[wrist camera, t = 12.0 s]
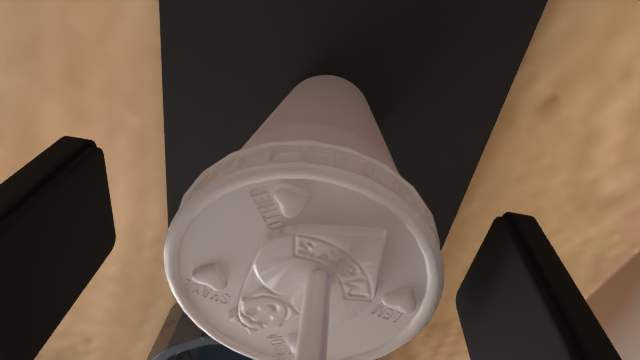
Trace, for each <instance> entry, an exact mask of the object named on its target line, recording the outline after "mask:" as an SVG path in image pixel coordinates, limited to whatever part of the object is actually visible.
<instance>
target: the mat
mask: <svg viewBox="0 0 640 360" xmlns="http://www.w3.org/2000/svg"><path fill="white" fill-rule="evenodd" d="M547 1H548V0H159V10H160V35H161V59H162V84H163V109H164V134H165V158H166V183H167V208H168V229H169V226H170V224H171V222H172V220H173V218H174V216H175V215H176V213H177V211H178V210H179V207H180V204H181V201H182V198H183V196H184V194H185V193H186V192H187V191H188V189H189V188H190V187H191V186H192V184H193V183H194V182H195V181H196V179H197V178H198V177H199V176H200V174H201V173H202V172H203V171H204V170H206V169H208V168H209V167H211V166H212V165H214V164H215V163H217V162H218V161H220V160H221V159H223V158H224V157H226V156H227V155H229V154H231V153H233V152H236V151H239V150H240V149H241V148H242V147H243V146H244V145H245V144H246V142H247V141H248V140H249V139H250V138H251V137H252V136H253V134H254V133H255V132H256V131H257V130H258V129H259V128H260V126H261V125H262V124H263V123H264V122H265V121H266V120H267V118H268V117H269V116H270V115H271V114H272V113H273V112H274V110H275V109H276V108H277V107H278V106H279V105H280V104H281V102H282V101H283V100H284V99H285V98H286V97H287V96H288V94H289V93H290V92H291V91H292V90H293V89H294V88H295V87H296V86H297V85H298V84H299V83H301V82H302V81H304V80H306V79H308V78H311V77H314V76H319V75H332V76H337V77H341V78H343V79H346V80H347V81H349V82H351V83H352V84H354V85H355V86H356V87H357V88H358V89H359V90H360V91H361V92H362V94H363V95H364V97H365V99H366V101H367V103H368V105H369V107H370V110H371V112H372V114H373V116H374V118H375V121H376V123H377V125H378V127H379V130H380V132H381V134H382V136H383V139H384V141H385V143H386V145H387V148H388V150H389V152H390V154H391V157H392V159H393V161H394V163H395V166H396V168H397V170H398V172H399V174H400V176H401V177H402V178H403V179H405V180H406V181H407V182H408V183H409V184H411V185H412V186H413V187H414V188H415V190H416V191H417V192H418V194H419V195H420V197H421V198H422V200H423V201H424V203H425V204H426V206H427V207H428V209H429V210H430V212H431V213H432V215H433V218H434V222H435V226H436V229H437V233H438V237H439V240H440V251H441V249H442V247H443V244H444V242H445V240H446V237H447V235H448V233H449V230H450V228H451V226H452V223H453V221H454V219H455V216H456V214H457V212H458V209H459V207H460V205H461V202H462V200H463V198H464V195H465V193H466V191H467V188H468V186H469V184H470V181H471V179H472V176H473V174H474V172H475V169H476V167H477V165H478V162H479V160H480V158H481V155H482V153H483V151H484V148H485V146H486V144H487V141H488V139H489V137H490V134H491V132H492V130H493V127H494V125H495V123H496V120H497V118H498V116H499V113H500V111H501V109H502V106H503V104H504V102H505V99H506V97H507V95H508V92H509V90H510V88H511V85H512V83H513V81H514V78H515V76H516V74H517V71H518V69H519V66H520V64H521V62H522V59H523V57H524V55H525V52H526V50H527V48H528V45H529V43H530V41H531V38H532V36H533V34H534V31H535V29H536V27H537V24H538V22H539V20H540V17H541V15H542V13H543V10H544V8H545V6H546V3H547Z"/></svg>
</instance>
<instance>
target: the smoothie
mask: <svg viewBox="0 0 640 360" xmlns="http://www.w3.org/2000/svg"><path fill="white" fill-rule="evenodd" d="M163 262H164V269H165V274H166V278H167V281H168V284H169V286H170V289H171V291H172V293H173V295H174V297H175V299H176V300H177V302H178V303H179V305H180V306H181V308H182V309H183V311H184V312H185V313H186V314H187V315H188V317H189V318H190V319H191V320H192V321H193V322H194V323H195V324H196V325H197V326H198V327H199V328H200V329H202V330H203V331H204V332H205V333H207V334H208V335H209V336H210V337H212V338H213V339H214V340H216V341H218V342H219V343H221V344H223V345H224V346H226V347H228V348H230V349H231V350H233V351H235V352H238V353H240V354H242V355H245V356H247V357H250V358H252V359H254V360H375V359H377V358H380V357H383V356H385V355H387V354H389V353H391V352H392V351H394V350H396V349H398V348H399V347H401V346H403V345H405V344H406V343H407V342H408V341H409V340H411V339H412V338H413V337H414V336H416V335H417V334H418V333H419V332H420V331H421V330H422V329H423V327H424V326H425V325H426V324H427V323H428V321H429V320H430V318H431V317H432V315H433V314H434V312H435V310H436V308H437V306H438V304H439V301H440V298H441V295H442V290H443V286H444V264H443V259H442V255H441V251H440V240H439V237H438V233H437V229H436V226H435V222H434V218H433V215H432V213H431V212H430V210H429V209H428V207H427V206H426V204H425V203H424V201H423V200H422V198H421V197H420V195H419V194H418V192H417V191H416V190H415V188H414V187H413V186H412V185H411V184H409V183H408V182H407V181H406V180H405V179H403V178H402V177H401V176H400V174H399V172H398V170H397V168H396V166H395V163H394V161H393V159H392V157H391V154H390V152H389V150H388V148H387V145H386V143H385V141H384V139H383V136H382V134H381V132H380V130H379V127H378V125H377V123H376V121H375V118H374V116H373V114H372V112H371V110H370V107H369V105H368V103H367V101H366V99H365V97H364V95H363V94H362V92H361V91H360V90H359V89H358V88H357V87H356V86H355V85H354V84H352V83H351V82H349V81H347V80H346V79H343V78H341V77H337V76H332V75H319V76H314V77H311V78H308V79H306V80H304V81H302V82H301V83H299V84H298V85H297V86H296V87H295V88H294V89H293V90H292V91H291V92H290V93H289V94H288V96H287V97H286V98H285V99H284V100H283V101H282V102H281V104H280V105H279V106H278V107H277V108H276V109H275V110H274V112H273V113H272V114H271V115H270V116H269V117H268V118H267V120H266V121H265V122H264V123H263V124H262V125H261V126H260V128H259V129H258V130H257V131H256V132H255V133H254V134H253V136H252V137H251V138H250V139H249V140H248V141H247V142H246V144H245V145H244V146H243V147H242V148H241V149H240V150H239V151H236V152H233V153H231V154H229V155H227V156H226V157H224V158H223V159H221V160H220V161H218V162H217V163H215V164H214V165H212V166H211V167H209V168H208V169H206V170H204V171H203V172H202V173H201V174H200V176H199V177H198V178H197V179H196V181H195V182H194V183H193V184H192V186H191V187H190V188H189V189H188V191H187V192H186V193H185V194H184V196H183V198H182V201H181V204H180V207H179V210H178V211H177V213H176V215H175V216H174V218H173V220H172V222H171V224H170V226H169V229H168V231H167V234H166V238H165V242H164V251H163Z"/></svg>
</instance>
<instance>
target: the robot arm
mask: <svg viewBox="0 0 640 360" xmlns="http://www.w3.org/2000/svg"><path fill="white" fill-rule="evenodd" d="M115 239H116V234H115V227H114V220H113V214H112V207H111V200H110V193H109V187H108V180H107V173H106V166H105V159H104V154H103V151H102V149H101V148H97V146H96V144H95V142H94V141H92V140H88V139H82V138H76V137H70V136H64V137H62V138H60V139H59V140H58V141H56V142H55V143H54V144H52V145H51V146H50V147H49V148H47V149H46V150H45V151H43V152H42V153H41V154H39V155H38V156H37V157H35V158H34V159H33V160H32V161H30V162H29V163H28V164H26V165H25V166H24V167H22V168H21V169H20V170H18V171H17V172H16V173H15V174H13V175H12V176H11V177H9V178H8V179H7V180H5V181H4V182H3V183H1V184H0V360H34V358H35V357H36V356H37V354H38V353H39V351H40V350H41V349H42V347H43V346H44V344H45V343H46V342H47V340H48V339H49V337H50V336H51V335H52V333H53V332H54V330H55V329H56V328H57V326H58V325H59V324H60V322H61V321H62V319H63V318H64V317H65V315H66V314H67V312H68V311H69V310H70V308H71V307H72V305H73V304H74V303H75V301H76V300H77V298H78V297H79V296H80V294H81V293H82V291H83V290H84V289H85V287H86V286H87V284H88V283H89V282H90V280H91V279H92V277H93V276H94V275H95V273H96V272H97V270H98V269H99V268H100V266H101V265H102V263H103V262H104V261H105V259H106V258H107V256H108V255H109V254H110V252H111V251H112V249H113V247H114V244H115ZM456 308H457V311H458V315H459V319H460V322H461V326H462V330H463V333H464V337H465V341H466V344H467V348H468V352H469V355H470V359H471V360H622V359H621V358H620V356H619V354H618V353H617V351H616V350H615V348H614V346H613V345H612V343H611V342H610V340H609V338H608V337H607V335H606V333H605V332H604V330H603V329H602V327H601V325H600V324H599V322H598V320H597V319H596V317H595V315H594V314H593V312H592V310H591V309H590V307H589V306H588V304H587V302H586V301H585V299H584V297H583V296H582V294H581V293H580V291H579V289H578V288H577V286H576V284H575V283H574V281H573V279H572V278H571V276H570V275H569V273H568V271H567V270H566V268H565V266H564V265H563V263H562V262H561V260H560V258H559V257H558V255H557V253H556V252H555V250H554V248H553V247H552V245H551V244H550V242H549V240H548V239H547V237H546V235H545V234H544V232H543V231H542V229H541V227H540V226H539V224H538V222H537V221H536V219H535V218H534V217H532V216H529V215H523V214H518V213H512V212H506V213H505V214H503V216H502V217H500V216H499V217H496V218H495V220H494V221H493V223H492V225H491V227H490V229H489V231H488V233H487V235H486V237H485V239H484V241H483V243H482V245H481V246H480V248H479V250H478V252H477V254H476V256H475V258H474V260H473V262H472V264H471V266H470V268H469V270H468V272H467V274H466V276H465V278H464V280H463V282H462V284H461V286H460V288H459V289H458V292H457V295H456Z"/></svg>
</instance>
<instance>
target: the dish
mask: <svg viewBox="0 0 640 360" xmlns="http://www.w3.org/2000/svg"><path fill="white" fill-rule="evenodd" d="M147 360H254V359H252V358H250V357H247V356H245V355H242V354H240V353H238V352H235V351H233V350H231V349H230V348H228V347H226V346H224V345H223V344H221V343H219V342H218V341H216V340H214V339H213V338H212V337H210V336H209V335H208V334H207V333H205V332H204V331H203V330H202V329H200V328H199V327H198V326H197V325H196V324H195V323H194V322H193V321H192V320H191V319H190V318H189V317H188V315H187V314H186V313H185V312H184V311H183V309H182V308H181V306H180V305H179V303H177V304H176V305H175V306H173V307H172V309H171V311H170V313H169V315H168V317H167V319H166V321H165V323H164V325H163V327H162V329H161V331H160V333H159V335H158V337H157V339H156V342H155V344H154V346H153V348H152V350H151V352H150V354H149V356H148V358H147Z"/></svg>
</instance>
